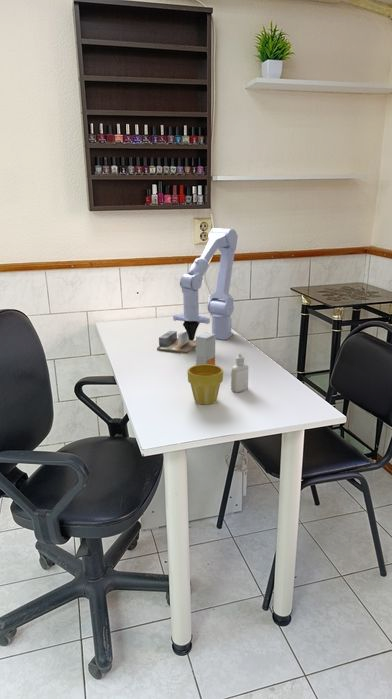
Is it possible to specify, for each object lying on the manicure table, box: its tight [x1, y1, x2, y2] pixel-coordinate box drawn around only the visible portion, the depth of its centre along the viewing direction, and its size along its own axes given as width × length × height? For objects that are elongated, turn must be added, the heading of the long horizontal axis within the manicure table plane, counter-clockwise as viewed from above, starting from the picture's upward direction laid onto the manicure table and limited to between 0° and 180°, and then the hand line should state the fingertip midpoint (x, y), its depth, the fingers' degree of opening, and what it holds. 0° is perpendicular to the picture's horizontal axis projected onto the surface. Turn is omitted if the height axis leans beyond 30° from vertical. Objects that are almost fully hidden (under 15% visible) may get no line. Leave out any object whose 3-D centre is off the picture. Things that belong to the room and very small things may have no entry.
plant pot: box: [187, 364, 224, 406], centre depth 146 cm, size 10×10×10 cm
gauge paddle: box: [175, 329, 190, 349], centre depth 192 cm, size 12×1×5 cm, turn 157°
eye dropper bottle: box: [230, 352, 249, 393], centre depth 152 cm, size 4×6×12 cm
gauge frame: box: [156, 330, 196, 355], centre depth 194 cm, size 14×13×4 cm
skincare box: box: [195, 332, 216, 365], centre depth 171 cm, size 6×4×12 cm
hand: (191, 339), depth 192 cm, fingers closed
